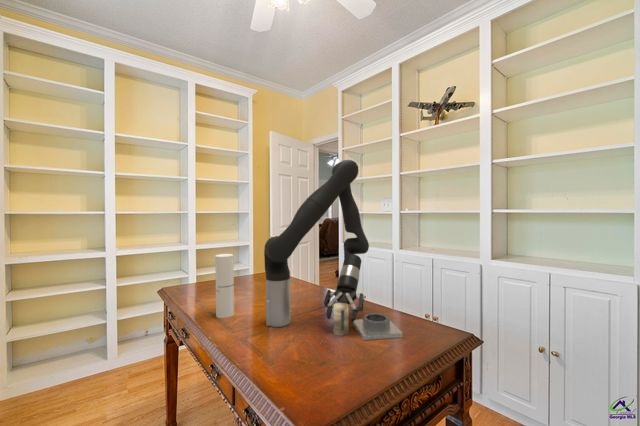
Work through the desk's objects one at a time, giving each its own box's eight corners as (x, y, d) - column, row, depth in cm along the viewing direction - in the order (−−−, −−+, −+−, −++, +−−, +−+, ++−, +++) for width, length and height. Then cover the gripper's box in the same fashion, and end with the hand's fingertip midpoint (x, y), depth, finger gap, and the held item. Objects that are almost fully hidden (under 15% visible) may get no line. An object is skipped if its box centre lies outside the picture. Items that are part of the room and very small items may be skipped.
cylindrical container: (228, 318, 118) (227, 256, 117) (212, 317, 119) (211, 256, 118) (237, 312, 125) (236, 254, 124) (221, 311, 126) (221, 253, 125)
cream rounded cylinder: (335, 336, 101) (335, 307, 100) (332, 330, 106) (332, 302, 106) (350, 335, 101) (349, 306, 101) (346, 329, 107) (346, 302, 106)
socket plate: (363, 340, 98) (363, 327, 97) (352, 323, 111) (352, 312, 111) (402, 337, 100) (402, 324, 100) (387, 321, 113) (387, 309, 113)
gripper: (329, 272, 113) (318, 312, 102) (365, 275, 108) (357, 317, 97) (333, 283, 118) (323, 321, 107) (368, 286, 113) (361, 327, 102)
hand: (339, 319), depth 102 cm, fingers open, 8 cm apart
